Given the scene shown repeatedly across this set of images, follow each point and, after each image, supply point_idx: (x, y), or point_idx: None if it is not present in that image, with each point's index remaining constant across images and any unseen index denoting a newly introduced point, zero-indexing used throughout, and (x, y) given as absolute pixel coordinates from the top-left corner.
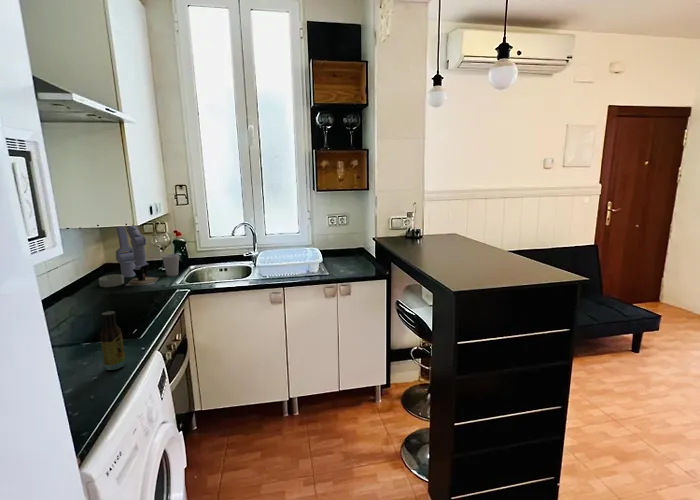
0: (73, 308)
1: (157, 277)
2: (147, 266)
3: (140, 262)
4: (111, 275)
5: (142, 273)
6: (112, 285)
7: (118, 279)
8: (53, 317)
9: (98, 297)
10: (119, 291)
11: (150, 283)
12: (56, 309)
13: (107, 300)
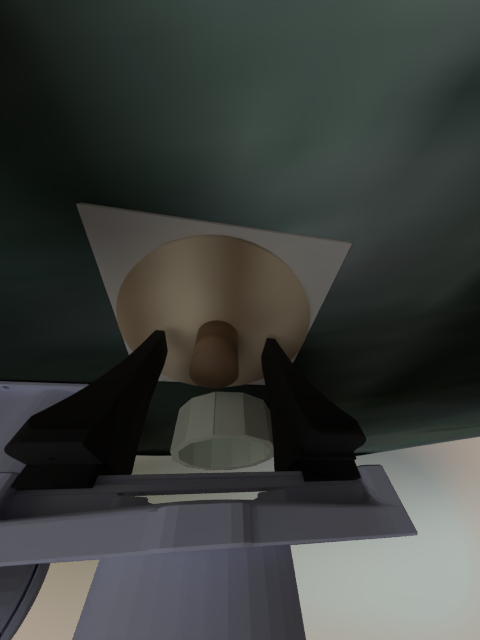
0: (443, 428)
1: (93, 229)
2: (100, 425)
3: (303, 632)
4: (181, 458)
5: (315, 388)
6: (270, 417)
7: (261, 432)
8: (476, 436)
9: (382, 413)
10: (354, 383)
11: (313, 268)
12: (412, 444)
13: (456, 390)
